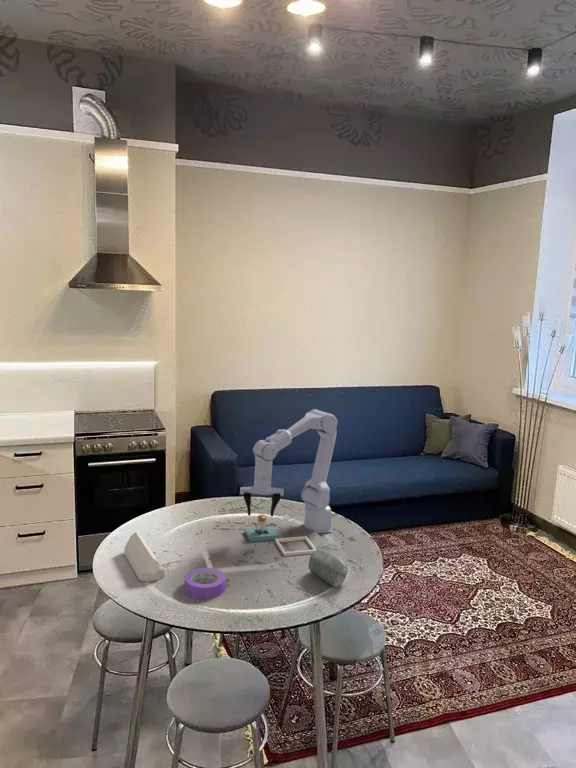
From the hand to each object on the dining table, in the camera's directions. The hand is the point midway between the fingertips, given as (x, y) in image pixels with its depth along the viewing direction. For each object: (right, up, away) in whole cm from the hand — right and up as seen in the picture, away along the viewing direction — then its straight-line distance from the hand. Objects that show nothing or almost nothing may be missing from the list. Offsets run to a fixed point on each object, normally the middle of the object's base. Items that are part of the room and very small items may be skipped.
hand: (260, 514), depth 198 cm
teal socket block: (0, -10, +5) cm, 11 cm away
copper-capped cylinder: (0, -8, +5) cm, 10 cm away
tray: (+12, -12, -3) cm, 17 cm away
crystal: (-35, -12, -17) cm, 41 cm away
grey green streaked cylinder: (+21, -15, -21) cm, 33 cm away
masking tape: (-15, -15, -29) cm, 36 cm away
